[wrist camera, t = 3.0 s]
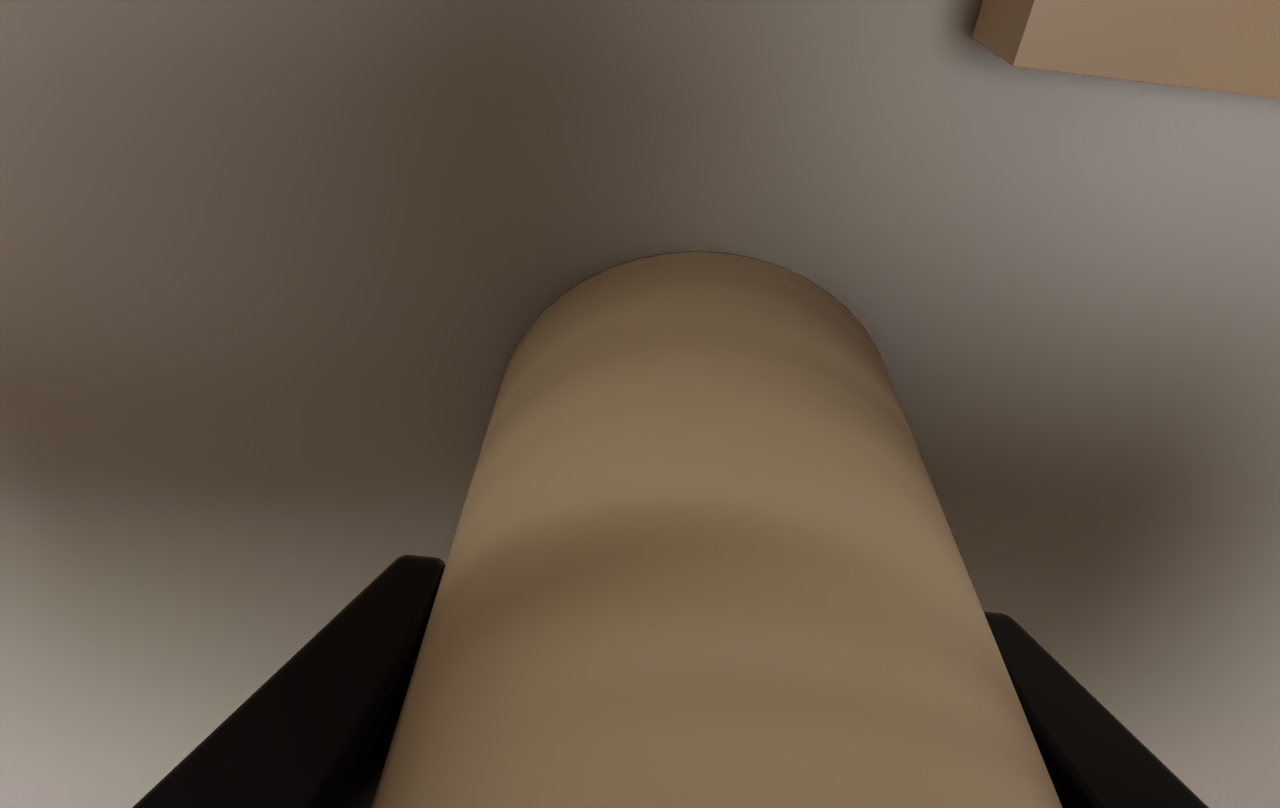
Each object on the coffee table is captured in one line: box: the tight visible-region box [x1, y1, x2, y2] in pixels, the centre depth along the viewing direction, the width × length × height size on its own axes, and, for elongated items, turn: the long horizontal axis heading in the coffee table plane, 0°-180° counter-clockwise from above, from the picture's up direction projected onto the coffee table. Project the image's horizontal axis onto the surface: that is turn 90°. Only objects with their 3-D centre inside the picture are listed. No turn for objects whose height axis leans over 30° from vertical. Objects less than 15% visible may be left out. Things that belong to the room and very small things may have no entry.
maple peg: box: [371, 252, 1062, 808], centre depth 7 cm, size 5×5×9 cm
